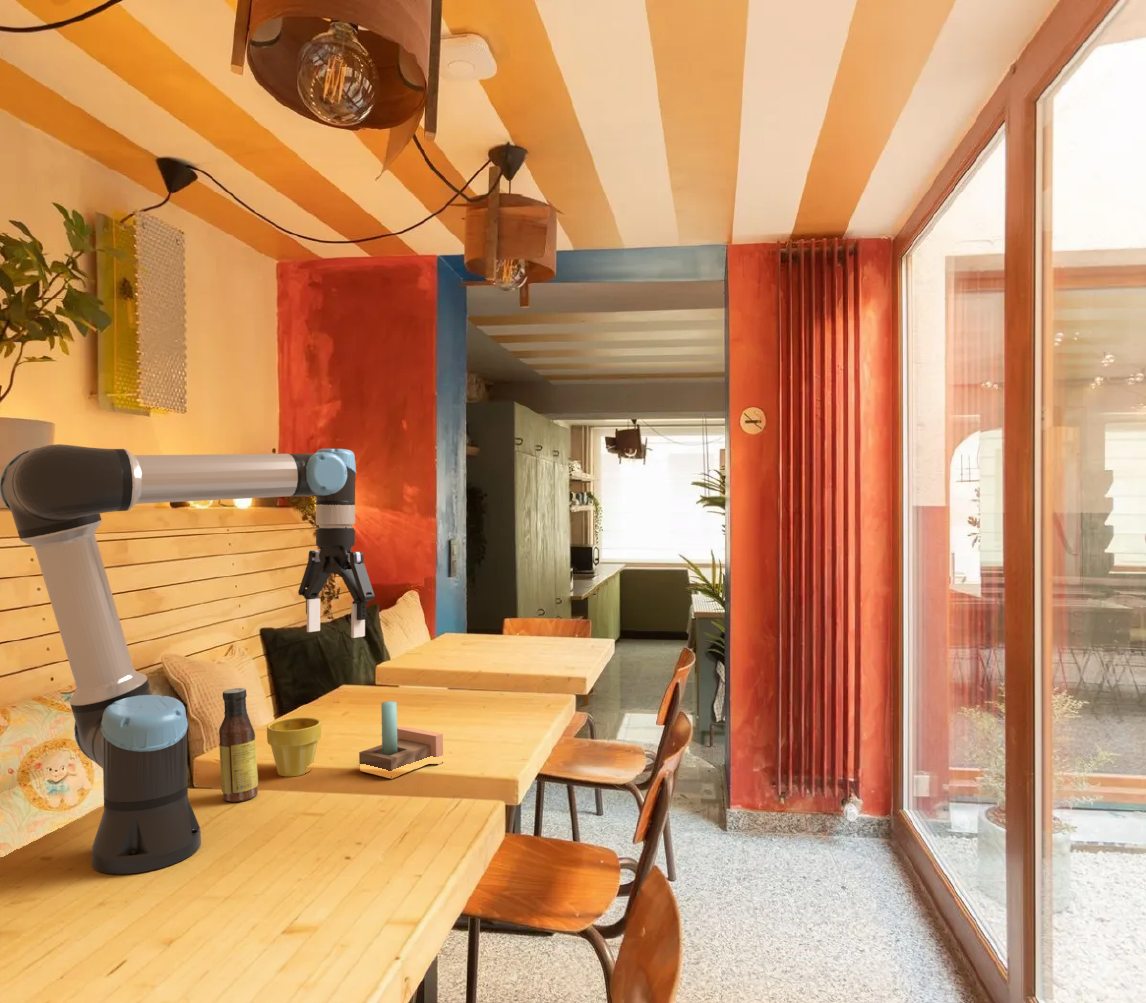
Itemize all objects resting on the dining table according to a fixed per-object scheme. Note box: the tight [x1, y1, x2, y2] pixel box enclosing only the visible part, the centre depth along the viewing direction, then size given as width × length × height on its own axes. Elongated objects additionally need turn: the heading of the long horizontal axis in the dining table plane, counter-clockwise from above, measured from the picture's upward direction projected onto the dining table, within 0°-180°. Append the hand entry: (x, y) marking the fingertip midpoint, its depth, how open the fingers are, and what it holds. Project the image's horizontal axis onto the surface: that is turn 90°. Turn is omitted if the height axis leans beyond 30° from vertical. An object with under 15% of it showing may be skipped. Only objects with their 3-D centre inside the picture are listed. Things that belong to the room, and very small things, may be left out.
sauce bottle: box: [218, 687, 259, 803], centre depth 154 cm, size 6×6×20 cm
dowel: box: [380, 700, 398, 756], centre depth 168 cm, size 3×3×12 cm
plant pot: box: [266, 716, 322, 778], centre depth 168 cm, size 10×10×10 cm
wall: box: [397, 725, 444, 757], centre depth 174 cm, size 2×12×6 cm, turn 56°
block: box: [358, 739, 431, 780], centre depth 169 cm, size 11×9×4 cm
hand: (335, 634), depth 165 cm, fingers open, 13 cm apart
